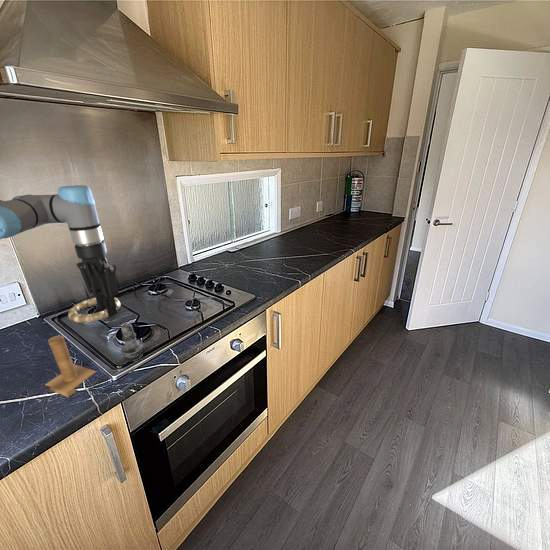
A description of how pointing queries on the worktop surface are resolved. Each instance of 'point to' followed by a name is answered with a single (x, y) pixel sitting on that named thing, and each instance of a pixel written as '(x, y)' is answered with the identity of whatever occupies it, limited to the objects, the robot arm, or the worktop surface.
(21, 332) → the worktop surface
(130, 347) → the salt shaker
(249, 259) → the worktop surface
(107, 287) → the robot arm
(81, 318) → the ring
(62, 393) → the post stand
